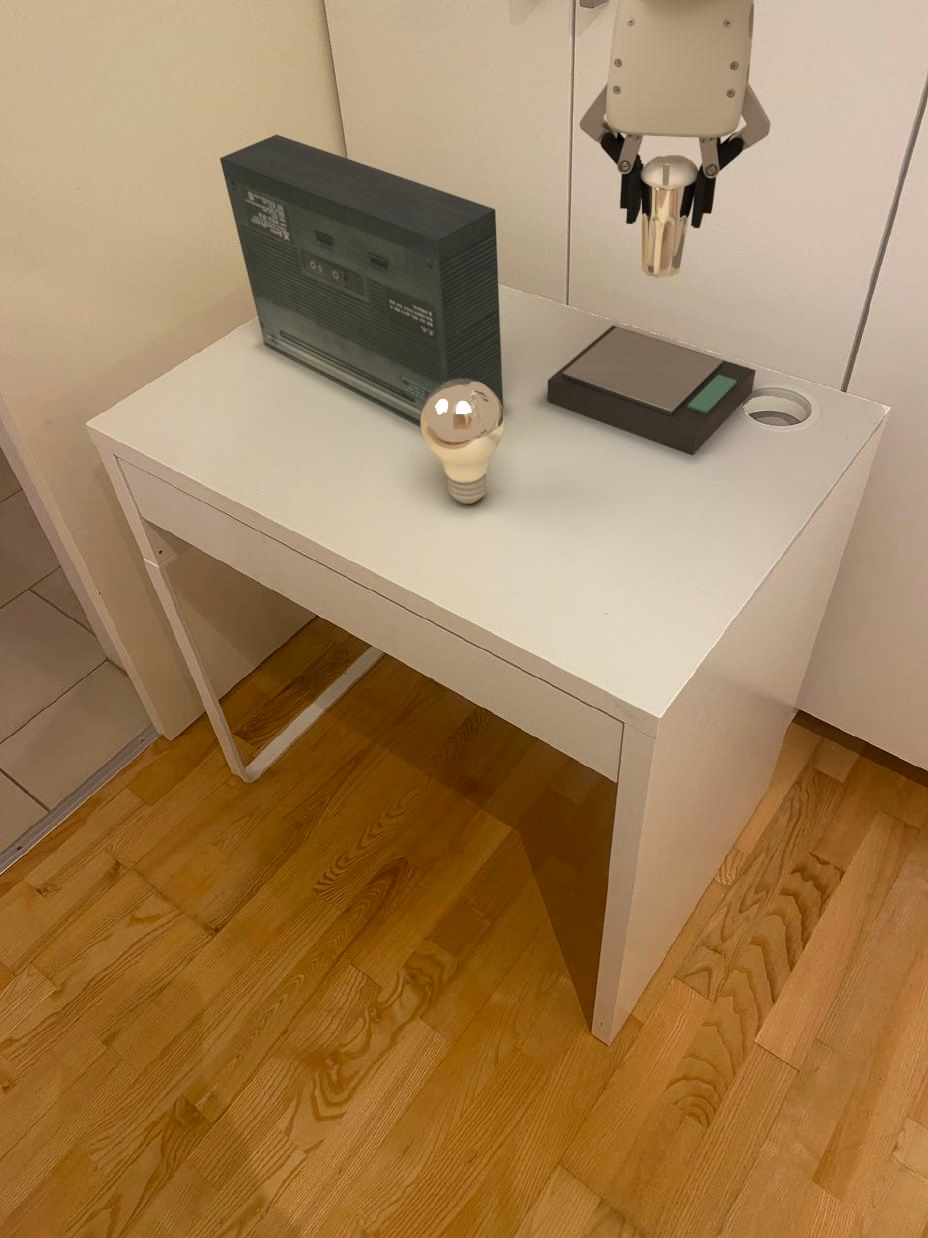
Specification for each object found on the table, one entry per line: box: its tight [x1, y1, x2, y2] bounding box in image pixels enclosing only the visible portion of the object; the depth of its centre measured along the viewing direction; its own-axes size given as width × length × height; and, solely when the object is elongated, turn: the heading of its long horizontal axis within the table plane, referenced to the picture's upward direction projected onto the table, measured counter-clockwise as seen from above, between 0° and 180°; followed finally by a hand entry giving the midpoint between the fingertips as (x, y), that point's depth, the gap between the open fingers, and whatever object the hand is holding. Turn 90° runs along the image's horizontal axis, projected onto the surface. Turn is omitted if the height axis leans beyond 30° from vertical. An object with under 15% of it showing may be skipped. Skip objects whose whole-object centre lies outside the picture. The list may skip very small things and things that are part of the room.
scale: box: [547, 325, 757, 456], centre depth 93 cm, size 16×12×3 cm
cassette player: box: [219, 134, 504, 428], centre depth 93 cm, size 29×7×20 cm, turn 46°
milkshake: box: [641, 154, 699, 279], centre depth 78 cm, size 4×5×10 cm
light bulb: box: [420, 378, 505, 505], centre depth 81 cm, size 7×7×12 cm
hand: (665, 216), depth 79 cm, fingers closed on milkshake, 4 cm apart
